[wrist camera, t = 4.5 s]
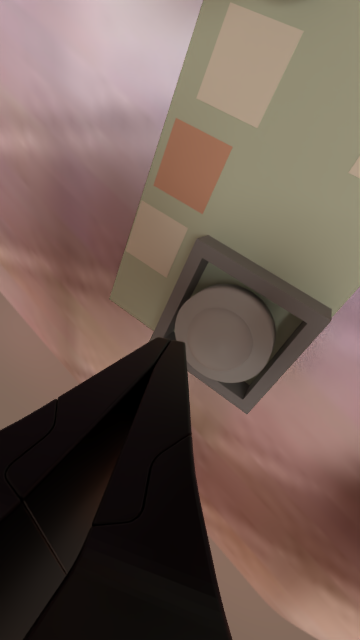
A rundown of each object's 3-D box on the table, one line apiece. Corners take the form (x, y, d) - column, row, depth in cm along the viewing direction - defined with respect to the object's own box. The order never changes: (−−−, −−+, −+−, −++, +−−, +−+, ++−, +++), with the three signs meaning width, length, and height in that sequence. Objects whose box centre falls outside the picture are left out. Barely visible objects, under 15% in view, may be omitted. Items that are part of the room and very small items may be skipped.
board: (695, -100, 8) (822, -203, 6) (257, 397, 21) (248, 419, 19) (275, -193, 11) (260, -285, 9) (115, 296, 24) (94, 305, 22)
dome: (298, 316, 16) (289, 346, 13) (246, 381, 20) (228, 418, 16) (213, 262, 18) (185, 278, 14) (176, 332, 21) (147, 357, 18)
